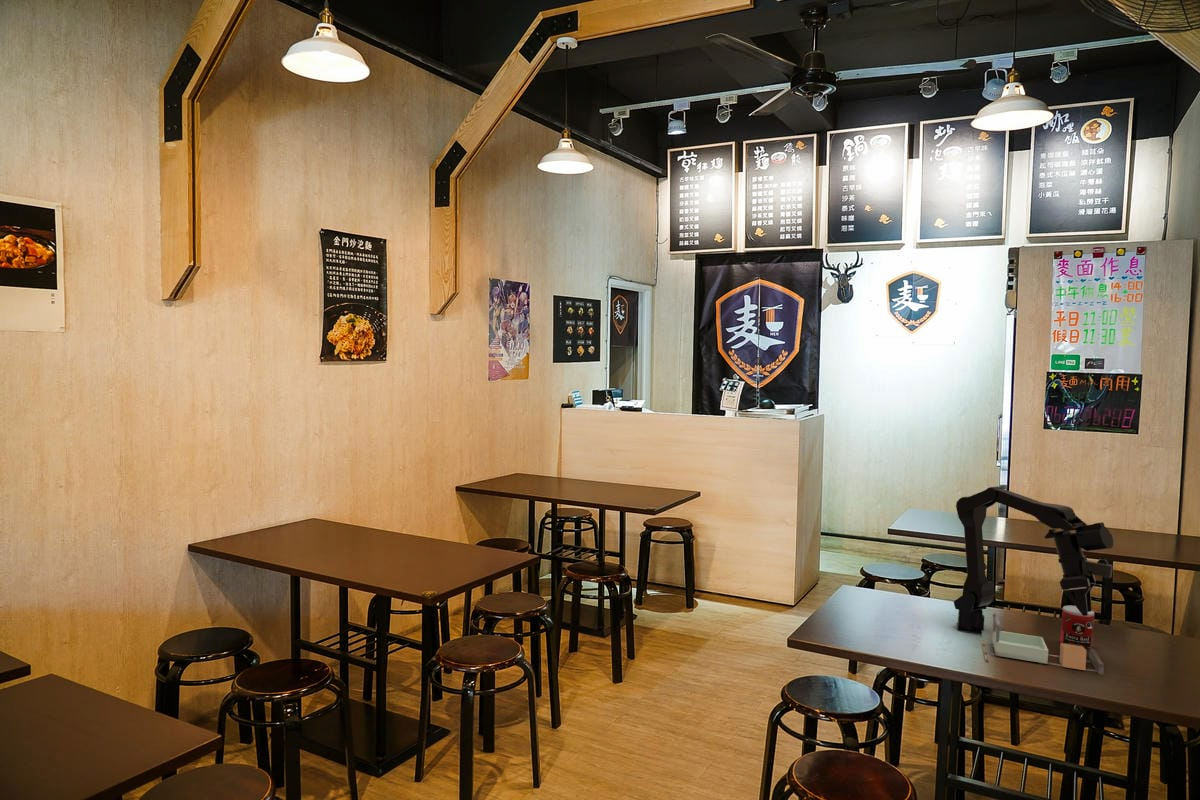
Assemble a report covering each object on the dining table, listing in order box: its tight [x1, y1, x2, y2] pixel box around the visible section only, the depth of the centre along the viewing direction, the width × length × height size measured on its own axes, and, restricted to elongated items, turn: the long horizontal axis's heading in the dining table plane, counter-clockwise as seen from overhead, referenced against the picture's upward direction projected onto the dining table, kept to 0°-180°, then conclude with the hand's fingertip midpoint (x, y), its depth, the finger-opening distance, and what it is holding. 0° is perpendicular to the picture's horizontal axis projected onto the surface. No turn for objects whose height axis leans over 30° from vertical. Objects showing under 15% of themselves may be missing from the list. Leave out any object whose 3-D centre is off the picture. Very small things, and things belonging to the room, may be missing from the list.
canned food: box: [1059, 605, 1095, 651], centre depth 218 cm, size 8×8×11 cm
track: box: [980, 639, 1105, 676], centre depth 206 cm, size 27×16×4 cm, turn 67°
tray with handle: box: [991, 612, 1049, 665], centre depth 208 cm, size 12×11×9 cm
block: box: [1059, 642, 1087, 671], centre depth 201 cm, size 5×5×5 cm
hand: (1087, 613), depth 203 cm, fingers open, 9 cm apart
